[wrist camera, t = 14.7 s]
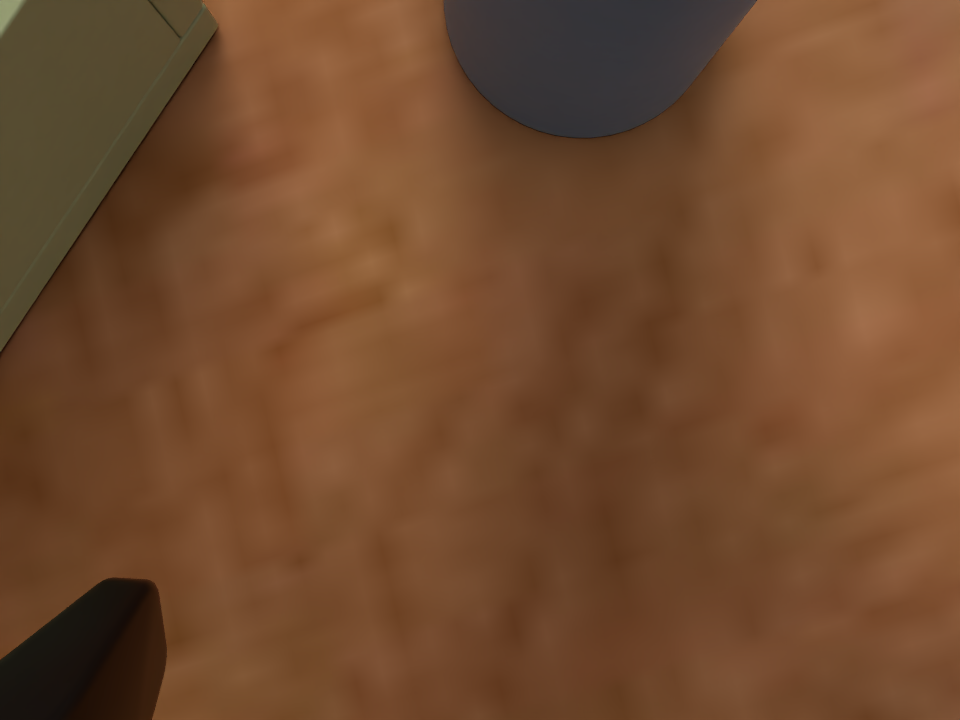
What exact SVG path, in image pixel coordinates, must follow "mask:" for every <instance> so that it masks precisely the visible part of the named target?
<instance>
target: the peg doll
mask: <svg viewBox="0 0 960 720" xmlns="http://www.w3.org/2000/svg"><path fill="white" fill-rule="evenodd" d="M756 1H757V0H444V12H445V19H446V26H447V30H448V34H449V38H450V41H451V45H452V47H453V50H454V52H455V54H456V57H457V59H458V61H459V63H460V65H461V66H462V68H463V70H464V72H465V73H466V75H467V77H468V78H469V79H470V81H471V82H472V83H473V84H474V86H475V87H476V88H477V90H478V91H479V92H480V93H481V94H482V95H483V96H484V97H485V98H486V99H487V100H488V101H489V102H490V103H491V104H492V105H494V106H495V107H496V108H498V109H499V110H500V111H502V112H503V113H504V114H506V115H507V116H509V117H511V118H512V119H514V120H516V121H518V122H519V123H521V124H523V125H526V126H528V127H531V128H533V129H536V130H538V131H541V132H545V133H549V134H553V135H557V136H565V137H573V138H593V137H601V136H608V135H613V134H616V133H620V132H624V131H627V130H630V129H632V128H635V127H637V126H639V125H642V124H644V123H646V122H648V121H649V120H651V119H653V118H654V117H656V116H658V115H659V114H661V113H662V112H663V111H665V110H666V109H667V108H668V107H670V106H671V105H672V104H674V103H675V102H676V101H677V100H678V98H679V97H680V96H681V95H682V94H683V93H684V92H685V91H686V90H687V89H688V88H689V86H690V85H691V84H692V83H693V81H694V80H695V79H696V78H697V76H698V75H699V74H700V72H701V71H702V70H703V69H704V67H705V66H706V65H707V64H708V62H709V61H710V60H711V58H712V57H713V56H714V55H715V53H716V52H717V51H718V50H719V48H720V47H721V46H722V44H723V43H724V42H725V41H726V39H727V38H728V37H729V36H730V34H731V33H732V32H733V30H734V29H735V28H736V27H737V25H738V24H739V23H740V22H741V20H742V19H743V18H744V16H745V15H746V14H747V13H748V11H749V10H750V9H751V8H752V6H753V5H754V4H755V3H756Z"/></svg>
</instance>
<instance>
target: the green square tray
mask: <svg viewBox="0 0 960 720" xmlns="http://www.w3.org/2000/svg"><path fill="white" fill-rule="evenodd" d="M217 27H218V23H217V22H216V20H215V19H214V17H213V16H212V15H211V13H210V12H209V10H208V9H207V7H206V6H205V4H203V2H202V0H0V352H1V350H2V349H3V347H4V346H5V345H6V343H7V342H8V340H9V339H10V337H11V336H12V334H13V333H14V331H15V330H16V328H17V327H18V325H19V324H20V322H21V321H22V319H23V318H24V316H25V315H26V313H27V312H28V310H29V309H30V307H31V306H32V304H33V303H34V301H35V300H36V298H37V297H38V295H39V294H40V292H41V291H42V289H43V288H44V286H45V285H46V283H47V282H48V280H49V279H50V277H51V276H52V274H53V273H54V271H55V270H56V268H57V267H58V265H59V264H60V262H61V261H62V259H63V258H64V256H65V255H66V253H67V252H68V250H69V249H70V247H71V246H72V244H73V243H74V241H75V240H76V238H77V237H78V235H79V234H80V232H81V231H82V229H83V228H84V226H85V225H86V223H87V222H88V220H89V219H90V217H91V216H92V214H93V213H94V211H95V210H96V209H97V207H98V206H99V204H100V203H101V201H102V200H103V198H104V197H105V195H106V194H107V192H108V191H109V189H110V188H111V186H112V185H113V183H114V182H115V180H116V179H117V177H118V176H119V174H120V173H121V171H122V170H123V168H124V167H125V165H126V164H127V162H128V161H129V159H130V158H131V156H132V155H133V153H134V152H135V150H136V149H137V147H138V146H139V144H140V143H141V141H142V140H143V138H144V137H145V135H146V134H147V132H148V131H149V129H150V128H151V126H152V125H153V123H154V122H155V120H156V119H157V117H158V116H159V114H160V113H161V111H162V110H163V108H164V107H165V105H166V104H167V102H168V101H169V99H170V98H171V96H172V95H173V93H174V92H175V90H176V89H177V87H178V86H179V84H180V83H181V81H182V80H183V78H184V77H185V75H186V74H187V73H188V71H189V70H190V68H191V67H192V65H193V64H194V62H195V61H196V59H197V58H198V56H199V55H200V53H201V52H202V50H203V49H204V47H205V46H206V44H207V43H208V41H209V40H210V38H211V37H212V35H213V34H214V32H215V31H216V29H217Z"/></svg>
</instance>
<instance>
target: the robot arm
mask: <svg viewBox="0 0 960 720" xmlns="http://www.w3.org/2000/svg"><path fill="white" fill-rule="evenodd" d="M166 657H167V647H166V639H165V632H164V625H163V618H162V611H161V604H160V597H159V592H158V589H157V587H156V585H155V583H154V582H152V581H150V580H147V579H131V578H108V579H105V580H103V581H101V582H100V583H98V584H97V585H96V586H94V587H93V588H92V589H90V590H89V591H88V592H87V593H85V594H84V595H83V596H82V597H80V598H79V599H78V600H76V601H75V602H74V603H73V604H71V605H70V606H69V607H67V608H66V609H65V610H64V611H62V612H61V613H60V614H59V615H57V616H56V617H55V618H53V619H52V620H51V621H50V622H48V623H47V624H46V625H44V626H43V627H42V628H41V629H39V630H38V631H37V632H36V633H34V634H33V635H32V636H30V637H29V638H28V639H27V640H25V641H24V642H23V643H21V644H20V645H19V646H18V647H16V648H15V649H14V650H12V651H11V652H10V653H9V654H7V655H6V656H5V657H4V658H2V659H1V660H0V720H152V717H153V714H154V710H155V706H156V702H157V699H158V695H159V691H160V687H161V684H162V680H163V676H164V672H165V666H166Z"/></svg>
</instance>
